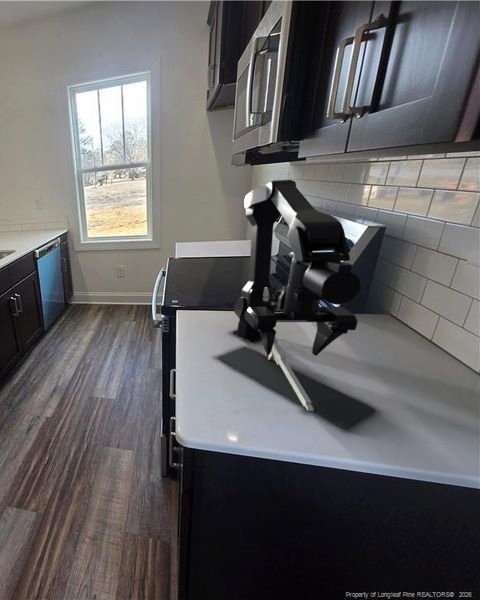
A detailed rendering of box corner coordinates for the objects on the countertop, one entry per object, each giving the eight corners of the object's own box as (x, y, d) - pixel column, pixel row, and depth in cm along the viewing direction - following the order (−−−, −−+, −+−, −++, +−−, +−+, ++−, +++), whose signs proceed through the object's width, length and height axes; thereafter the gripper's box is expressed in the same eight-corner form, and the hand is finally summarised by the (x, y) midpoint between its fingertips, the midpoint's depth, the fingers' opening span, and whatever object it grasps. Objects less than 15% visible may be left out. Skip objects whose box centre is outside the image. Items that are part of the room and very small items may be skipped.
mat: (244, 347, 84) (245, 346, 84) (374, 410, 60) (375, 408, 60) (217, 358, 80) (217, 357, 80) (344, 430, 56) (345, 428, 56)
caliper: (264, 355, 79) (268, 333, 77) (269, 355, 79) (273, 333, 77) (307, 412, 60) (314, 384, 58) (313, 412, 60) (321, 384, 58)
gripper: (332, 272, 68) (317, 336, 74) (240, 274, 71) (232, 336, 76) (369, 289, 58) (348, 362, 63) (260, 291, 60) (249, 361, 66)
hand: (290, 354), depth 68 cm, fingers open, 9 cm apart
